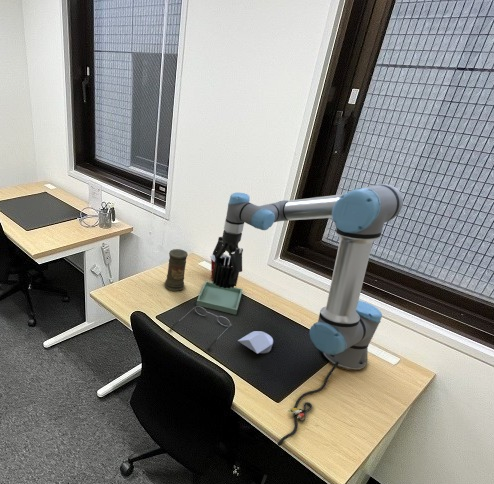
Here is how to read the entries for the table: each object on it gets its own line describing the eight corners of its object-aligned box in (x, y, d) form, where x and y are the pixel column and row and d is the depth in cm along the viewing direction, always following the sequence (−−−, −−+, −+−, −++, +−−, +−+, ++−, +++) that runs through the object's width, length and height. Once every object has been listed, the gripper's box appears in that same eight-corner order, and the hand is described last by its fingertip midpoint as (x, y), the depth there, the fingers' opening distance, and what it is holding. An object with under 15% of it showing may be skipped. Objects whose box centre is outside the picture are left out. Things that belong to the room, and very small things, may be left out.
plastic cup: (223, 287, 183) (227, 265, 177) (203, 279, 188) (206, 258, 182) (232, 278, 190) (237, 257, 184) (212, 271, 196) (216, 250, 189)
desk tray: (236, 314, 164) (237, 309, 162) (196, 305, 169) (196, 300, 168) (241, 293, 179) (242, 289, 177) (204, 285, 184) (205, 280, 182)
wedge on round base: (255, 360, 139) (275, 347, 146) (259, 346, 136) (280, 333, 143) (235, 347, 145) (256, 335, 152) (239, 333, 142) (259, 321, 149)
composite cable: (306, 402, 123) (308, 397, 122) (319, 413, 120) (321, 407, 118) (286, 414, 119) (288, 408, 117) (298, 425, 115) (301, 420, 114)
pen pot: (241, 285, 167) (221, 290, 163) (227, 274, 175) (207, 278, 172) (245, 265, 162) (225, 269, 158) (230, 255, 170) (210, 259, 166)
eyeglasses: (231, 328, 156) (233, 320, 153) (208, 352, 143) (210, 344, 141) (193, 310, 165) (194, 303, 163) (169, 332, 153) (170, 324, 150)
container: (162, 282, 184) (165, 249, 175) (179, 280, 187) (183, 247, 177) (169, 292, 177) (173, 258, 168) (186, 290, 180) (191, 256, 170)
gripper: (258, 241, 148) (247, 288, 160) (223, 219, 166) (215, 264, 178) (243, 243, 146) (232, 292, 157) (209, 221, 164) (202, 266, 175)
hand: (223, 277), depth 168 cm, fingers closed on pen pot, 11 cm apart
